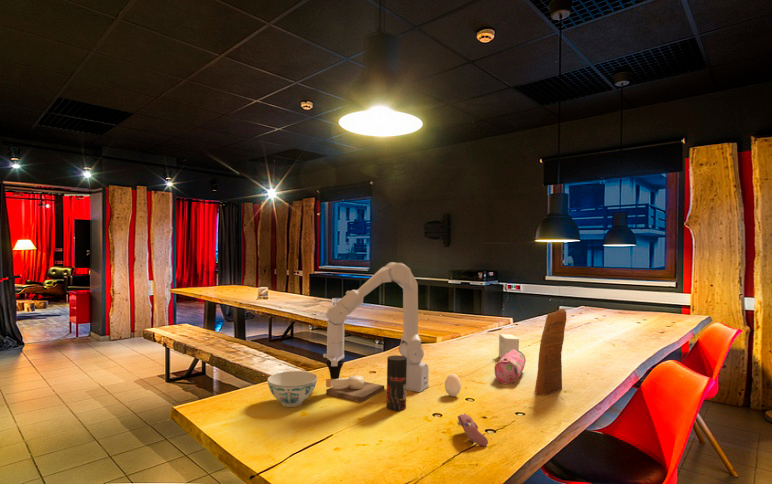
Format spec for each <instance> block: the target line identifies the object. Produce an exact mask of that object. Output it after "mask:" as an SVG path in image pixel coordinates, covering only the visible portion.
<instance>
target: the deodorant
mask: <svg viewBox="0 0 772 484" xmlns="http://www.w3.org/2000/svg"><path fill="white" fill-rule="evenodd" d="M386 362H387V363H386V365H387V366H386V368H387V369H386V409H388V411H393V412H399V411H405V410H406V409H407V390H406V377H407V358H406V357H404V356H402V355H389V356H387V361H386Z"/></svg>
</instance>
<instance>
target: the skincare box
mask: <svg viewBox="0 0 772 484" xmlns="http://www.w3.org/2000/svg"><path fill="white" fill-rule="evenodd" d="M498 341H499V342H498V358H499V357H500V358H502V357H503V356H504V354H505V353H506V352H507V351H509V350H512V349H514V350H518V351H520V350H519V347H520V339H519V338H518V337H516V336H515V335H514V334H510V333H509V334H508V333H507V334H506V333H504V334H503V333H499V335H498ZM500 358H499V359H500Z"/></svg>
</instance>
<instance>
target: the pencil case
mask: <svg viewBox="0 0 772 484" xmlns="http://www.w3.org/2000/svg"><path fill="white" fill-rule="evenodd" d="M526 362H527V361H526V356H525V355H524V353H523V352H522V351H520V350H519V351H518V350H514V349H512V350H509V351H507V352H506V353H505V354H504V356H503V357H502V358H501V359H500V358H499V360H498V361H497V362H496V363H495V365H494V370H493V371H494V375H495V378H496V380H497V381H498V383H500V384H505V383H506V384H512V383H514V382H515V381H516V380H518V379H519V378H520V376H521V375H522V373H523V371H524V368H525V366H526Z"/></svg>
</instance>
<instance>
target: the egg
mask: <svg viewBox="0 0 772 484" xmlns="http://www.w3.org/2000/svg"><path fill="white" fill-rule="evenodd" d="M444 389H445V392H446V393H447V394H448V396H450V397H456V396H458V395H459V394H460V391H461V389H462V383H461V380H460V378H459V376H458V375H457V374H455V373H449V374H448V376H447V377H446V379H445V381H444Z"/></svg>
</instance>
